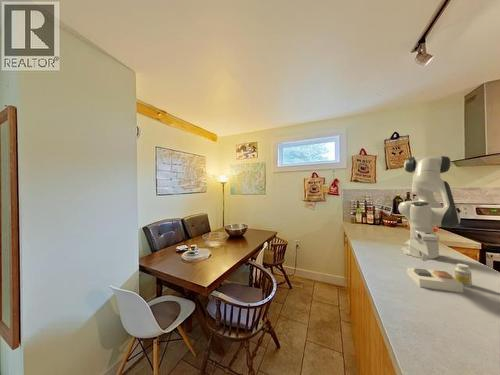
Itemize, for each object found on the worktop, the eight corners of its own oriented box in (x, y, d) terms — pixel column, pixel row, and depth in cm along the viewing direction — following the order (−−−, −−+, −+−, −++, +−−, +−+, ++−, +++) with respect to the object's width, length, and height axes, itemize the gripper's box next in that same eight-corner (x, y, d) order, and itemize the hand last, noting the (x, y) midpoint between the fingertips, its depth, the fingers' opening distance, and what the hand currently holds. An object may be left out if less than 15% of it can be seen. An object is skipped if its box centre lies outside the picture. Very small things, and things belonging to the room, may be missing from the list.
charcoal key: (414, 273, 100) (414, 268, 100) (426, 275, 98) (425, 269, 98) (418, 278, 95) (418, 272, 95) (431, 279, 93) (431, 273, 93)
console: (407, 274, 104) (407, 267, 104) (444, 278, 99) (444, 271, 99) (419, 286, 91) (419, 278, 91) (463, 292, 86) (462, 283, 86)
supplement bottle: (465, 287, 89) (464, 267, 90) (452, 282, 95) (451, 263, 95) (475, 286, 90) (474, 267, 90) (461, 281, 95) (460, 262, 95)
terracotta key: (433, 275, 97) (433, 270, 97) (445, 277, 95) (445, 271, 95) (439, 280, 92) (438, 274, 92) (452, 281, 90) (452, 275, 90)
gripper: (405, 229, 107) (406, 253, 107) (424, 237, 88) (426, 266, 88) (419, 229, 105) (420, 254, 104) (441, 238, 86) (443, 268, 85)
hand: (423, 260), depth 96 cm, fingers closed
